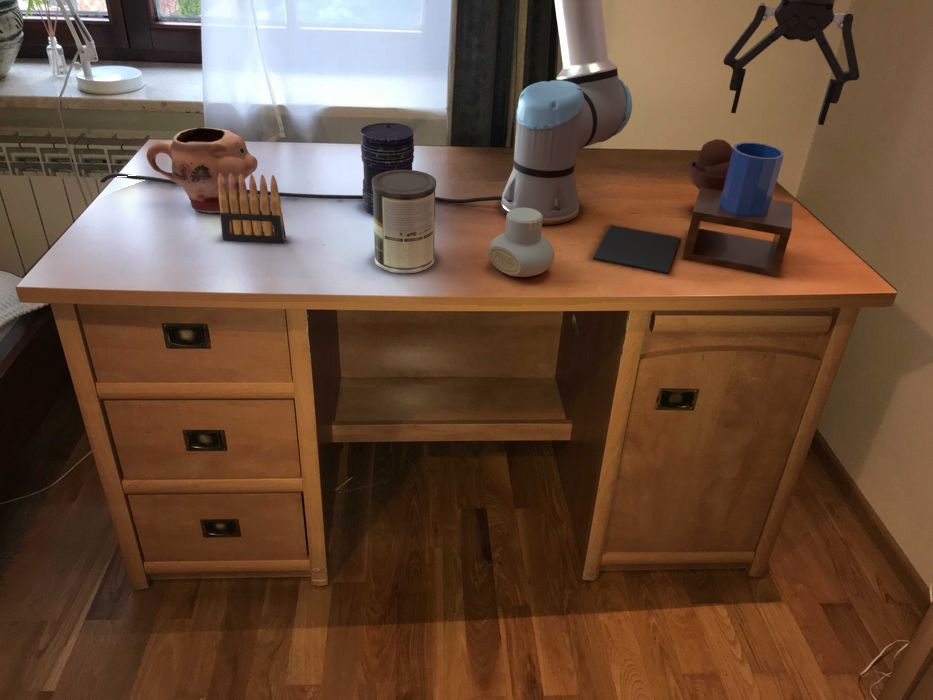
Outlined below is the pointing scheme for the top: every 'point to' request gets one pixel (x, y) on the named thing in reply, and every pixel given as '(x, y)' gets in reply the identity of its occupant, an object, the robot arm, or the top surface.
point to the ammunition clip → (250, 211)
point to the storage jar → (384, 153)
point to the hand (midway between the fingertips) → (776, 117)
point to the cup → (751, 178)
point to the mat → (637, 249)
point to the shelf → (734, 247)
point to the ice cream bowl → (711, 165)
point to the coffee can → (404, 220)
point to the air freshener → (522, 245)
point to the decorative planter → (204, 163)
